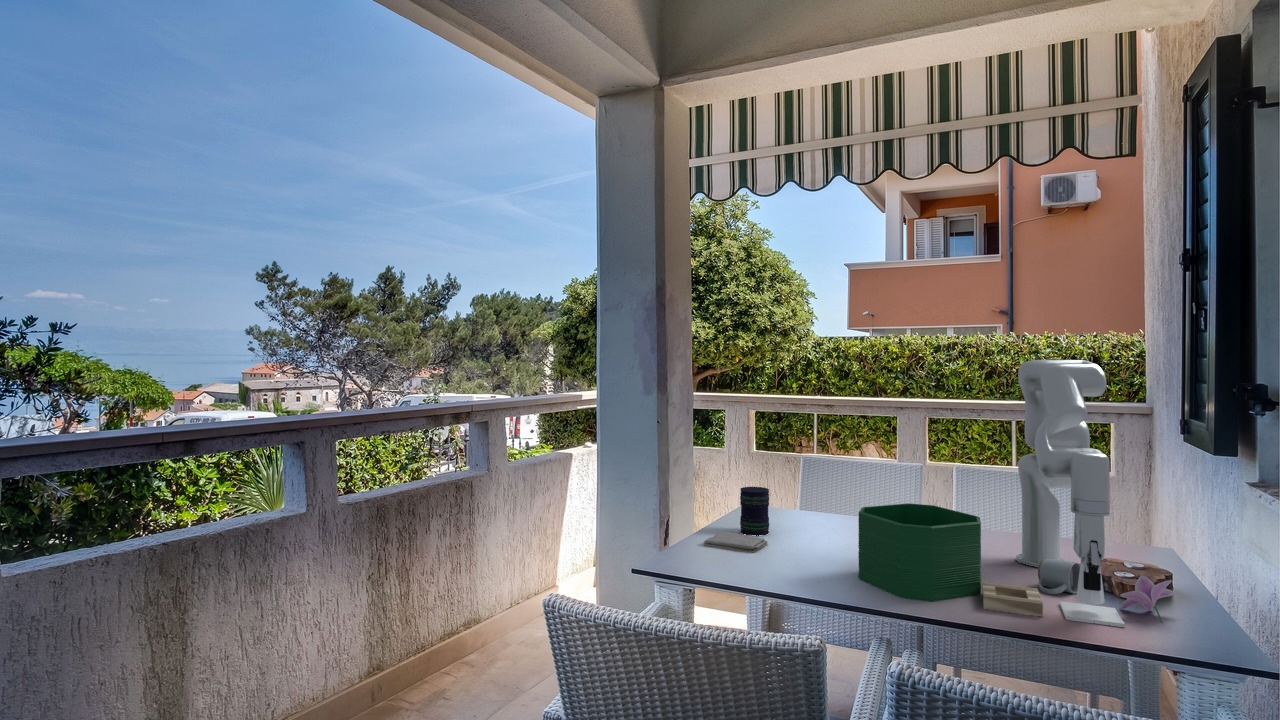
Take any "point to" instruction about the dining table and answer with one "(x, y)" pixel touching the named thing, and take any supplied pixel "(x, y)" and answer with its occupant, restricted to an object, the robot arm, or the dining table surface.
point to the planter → (920, 551)
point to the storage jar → (754, 511)
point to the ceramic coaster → (1091, 614)
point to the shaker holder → (1012, 599)
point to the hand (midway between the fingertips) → (1090, 586)
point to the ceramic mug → (1058, 576)
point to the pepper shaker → (1088, 595)
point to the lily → (1146, 594)
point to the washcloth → (736, 542)
